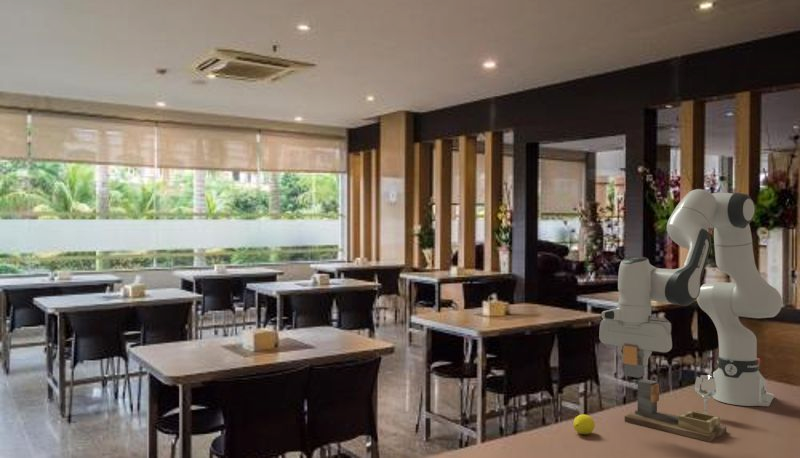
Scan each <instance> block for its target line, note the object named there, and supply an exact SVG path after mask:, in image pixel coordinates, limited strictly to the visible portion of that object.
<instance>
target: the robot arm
mask: <svg viewBox="0 0 800 458" xmlns="http://www.w3.org/2000/svg"><path fill="white" fill-rule="evenodd" d="M755 214H756V205H755V201H754V200H753V199H752V198H751V196H750V195H749V194H746V193H740V192H735V193H733V192H714V193H712V192H710V191H708V190H705V189H702V188H696V189H693V190H690V191H688V193H686V194H685V196H683V198H682V199H680V201H679V202H678V204H676V207H675V208H674V210H673V211H672V213H671V215H670V216H669V218H668V220H667V223H666V232H667V234H668V236H669V237H670V239H671V240H672V241H673V242H674V243H675V244H677V245H678V246H680V247H681V248H684V249H686V250H688V251H687V255H686V258H685V261H684V263H683V266H681V267H678V268H674V269H673V268H660V267H656V266H654V265H652V264H651V263H650V260H649V258H647V257H645V256H629V257H625V258H624V259H622V260H621V261H620V264H619V268H618V274H617V275H618V276H617V277H618V278H617V290H618V296H619V297H618V302H617V307H613V308H611V309H607V310H603V311H602V312H601V318H602V320H601V321H600V324H599V331H598V333H599V334H598V335H599V336H598V338H599V341H600V342H601V344H605V345H612V346H617V351H618V352H619V355H620V356H621V363H623V345H624V343H626V344H633V345H638V348H639V349H643V353H645V356H644V357H643V358H641V359H640V365H644V366H646V367H647V366H648V364H649V363H648V362H649V361H648V360H649V358H650V356H651V355H652V353H653V352H658V353H668V352H670V351H671V350H672V348H673V341H672V340H673V339H672V323H671V322H670V321H669V320H668V319H667V317H658V316H653V315H652V302H658V303H666V304H672V305H677V306H682V307H687V306H690V305H691V304H692V303H694V302H695V301H696V302H697V304H698V306H699V308H700V309H701V310H702V311H703V312H704V313H706V315H707V316H709V318H710V319H711V321H712V322H713V324H714V326H715V328H716V331H717V340H718V356H717V359H716V363H717V364H716V365H717V367H718V368H717V369H715V370H714V371H713V373H712V377H714V379H715V383H716V393H715V395H714V396H713V397H712V398H713V399H714V400H716V401H718V402H721V403H725V404H728V405H736V406H741V407H742V406H743V407H745V406H746V407H757V406H758V407H770V405H771V403H772V402H773V400H774V398H775V397H774V394H773V393H771V392H767V380H766V379H765V377H764V376H763V375H762V374H761V372H760V371H759V370H760V364H761V358H759V357H758V356H757V355H758V352H757V351H758V347H757V346H758V345H757V343H758V341H757V340H758V339H757V336H756V335H755V333H754V332H753V331H752V330H750V329H749V328H747V327H745V325H743V324H742V322H741V321H740V318H739V317H742V318H752V319H767V318H774V317H776V316H777V315H778V314H779V313H780V311H781V310H782V306H783V299H782V295H781V293H780V292H779V290H777V288H775V287H773V286H772V285H770V283H768V282H767V281H766V280H765V279H764V278H763V276H762V274H761V273H760V272H759V270H758V268H757V264H756V263H755V262H756V260H755V256H754V248H753V237H752V231H751V226H750V223H751V222H752V221H753V219H754V217H755ZM709 228H712V229H713V242H714V244H713V245H714V246H713V247H714V257H715V265H716V266H717V268H718V270H720V271H721V272H723V273H724V274H726V275H728V276H729V277H730V278H731V279H732V280H733V282H725V281H717V282H716V281H713V282H706V283H704V284H702V279H703V274H704V272H705V268H706V265H707V263H708V262H707V261H708V258H709V255H710V251H711V246H712V237H711V234H710V232H709V231H708V229H709ZM701 284H702V285H701Z"/></svg>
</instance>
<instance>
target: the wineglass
mask: <svg viewBox="0 0 800 458" xmlns="http://www.w3.org/2000/svg"><path fill="white" fill-rule="evenodd" d="M694 390H695V392H696V394H697V396H700V397H701V398H703V404H704V411H703V413H705V414H708V412H707V405H708V399H709V398H710V399H711V398H713V396H714V395H715V393H716V383H715V379H714V377H713V375H711V376H710V375H707V374H706V375H705V374H699V375H697V376H696V379H695V383H694Z"/></svg>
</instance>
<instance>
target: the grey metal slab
mask: <svg viewBox="0 0 800 458" xmlns="http://www.w3.org/2000/svg"><path fill="white" fill-rule="evenodd" d="M645 354H646V353H643V349H639V348H638V345H633V344H626V343H624V345H623V362H622V364H623V371H624V372H623V374H624V376H626V377H633V378H641V377H644V376H645V375H646V374H645V372H646V371H645V370H646V369H645V368H646V367H645V366H644V365H640V359H641V358H643V357H644V356H645Z"/></svg>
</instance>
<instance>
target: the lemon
mask: <svg viewBox="0 0 800 458" xmlns="http://www.w3.org/2000/svg"><path fill="white" fill-rule="evenodd" d="M572 425H573V429H575V431H576V432H577V433H578V434H580V435H589V434H591V433H592V432H593V431H594V430H595V427H596V426H595V420H594V419H593V418H592V417H591V416H590V415H588V414H579V415H577V416H575V417H574V420H573V424H572Z"/></svg>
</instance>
